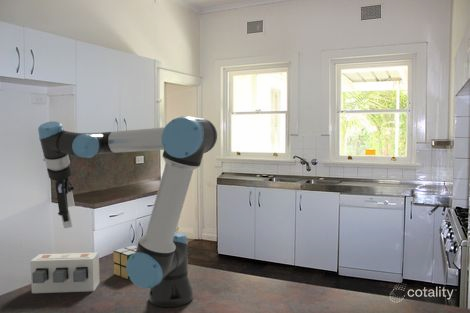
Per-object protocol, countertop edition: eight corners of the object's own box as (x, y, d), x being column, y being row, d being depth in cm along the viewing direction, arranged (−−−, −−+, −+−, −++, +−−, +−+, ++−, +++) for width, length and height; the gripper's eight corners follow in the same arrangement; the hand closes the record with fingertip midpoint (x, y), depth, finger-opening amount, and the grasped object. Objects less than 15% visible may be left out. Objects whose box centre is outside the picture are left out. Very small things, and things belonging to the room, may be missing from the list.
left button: (43, 283, 142) (42, 273, 141) (32, 283, 141) (32, 273, 141) (47, 278, 146) (47, 269, 145) (37, 279, 145) (37, 269, 145)
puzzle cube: (133, 267, 172) (133, 244, 171) (148, 273, 166) (148, 249, 165) (113, 274, 164) (112, 250, 163) (128, 280, 158) (127, 255, 157)
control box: (93, 291, 147) (92, 258, 146) (31, 293, 146) (30, 259, 145) (99, 282, 155) (98, 251, 154) (40, 284, 154) (39, 253, 153)
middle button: (63, 282, 142) (63, 272, 142) (53, 282, 142) (52, 272, 142) (67, 278, 146) (67, 268, 146) (57, 278, 146) (56, 268, 146)
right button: (83, 281, 143) (83, 271, 142) (73, 282, 142) (73, 272, 142) (87, 277, 147) (86, 267, 146) (77, 277, 146) (76, 268, 146)
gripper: (51, 151, 148) (62, 199, 158) (41, 185, 127) (55, 238, 137) (72, 148, 150) (82, 196, 160) (67, 182, 129) (78, 235, 139)
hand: (69, 216), depth 148 cm, fingers open, 13 cm apart
